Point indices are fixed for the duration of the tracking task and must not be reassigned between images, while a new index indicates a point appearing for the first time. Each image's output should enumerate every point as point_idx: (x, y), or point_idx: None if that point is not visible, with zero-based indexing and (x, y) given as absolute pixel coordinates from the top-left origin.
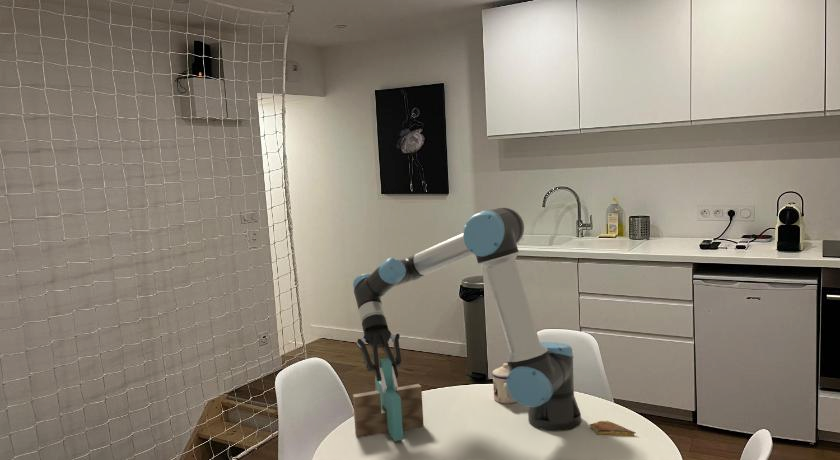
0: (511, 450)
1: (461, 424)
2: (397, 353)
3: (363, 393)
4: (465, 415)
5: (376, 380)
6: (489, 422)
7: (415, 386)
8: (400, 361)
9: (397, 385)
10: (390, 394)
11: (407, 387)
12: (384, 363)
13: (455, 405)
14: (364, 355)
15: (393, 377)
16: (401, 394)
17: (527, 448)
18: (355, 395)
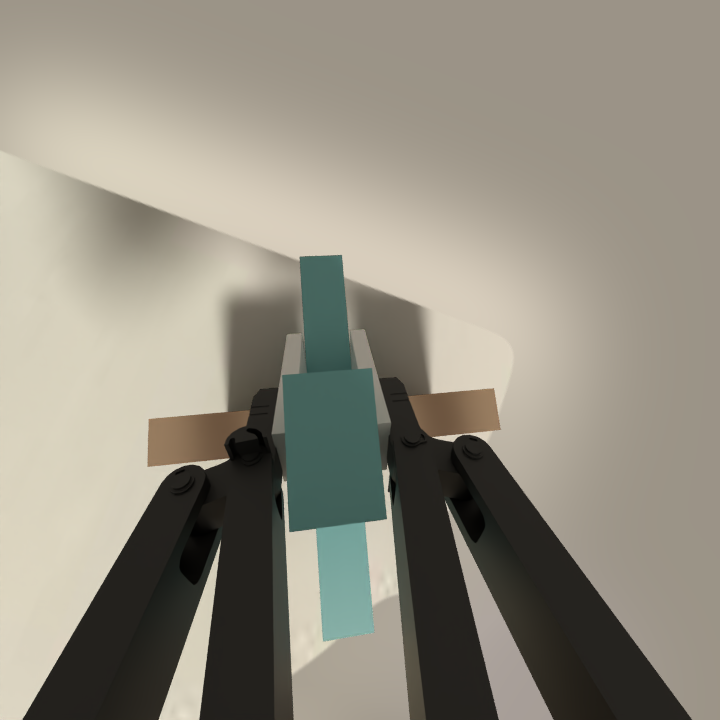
0: (59, 183)
1: (111, 383)
2: (137, 590)
3: (451, 426)
4: (65, 450)
5: (369, 585)
6: (18, 367)
7: (179, 429)
8: (175, 475)
9: (288, 336)
10: (337, 314)
11: (224, 430)
12: (356, 370)
13: (56, 558)
14: (582, 590)
15: (297, 366)
16: None
17: (13, 178)
18: (488, 412)
